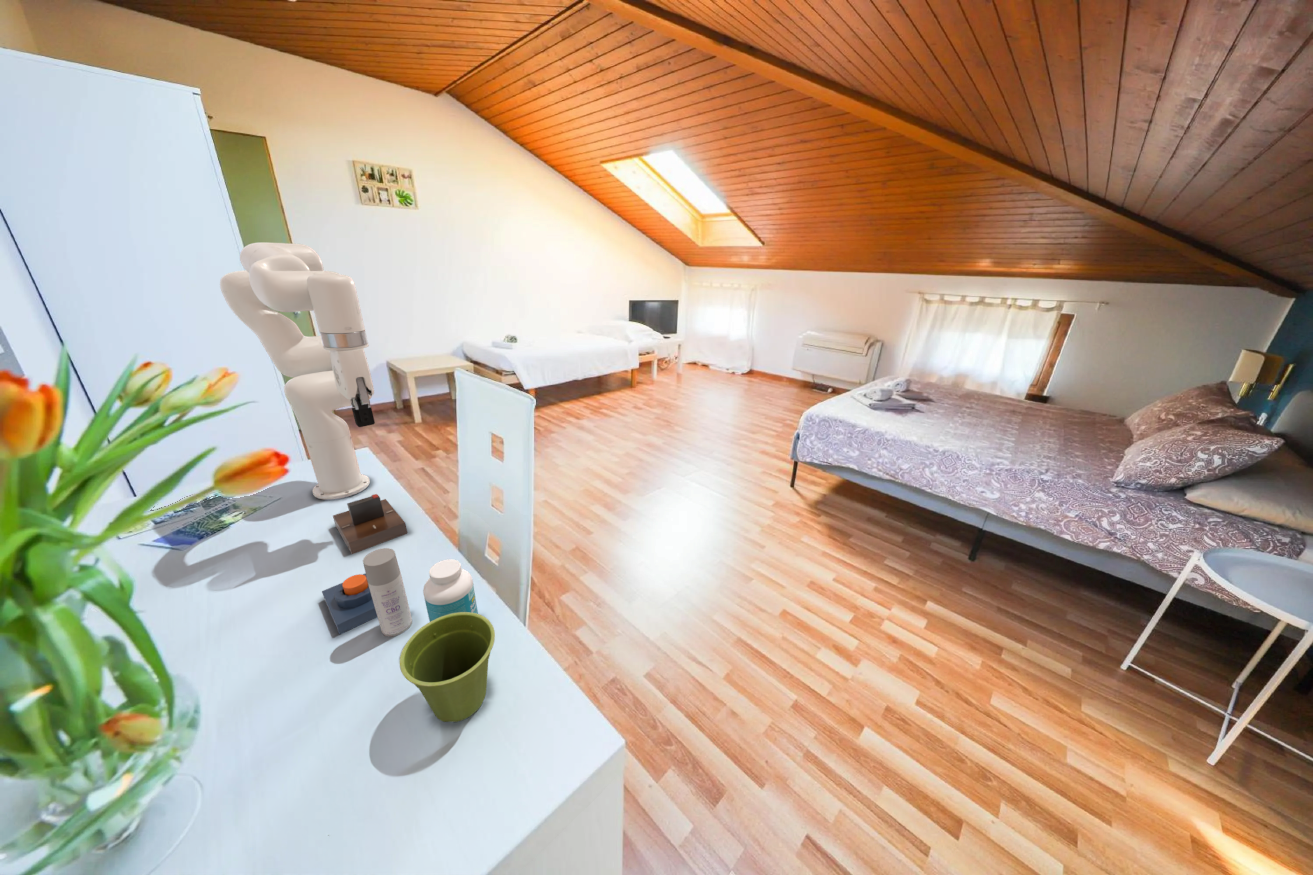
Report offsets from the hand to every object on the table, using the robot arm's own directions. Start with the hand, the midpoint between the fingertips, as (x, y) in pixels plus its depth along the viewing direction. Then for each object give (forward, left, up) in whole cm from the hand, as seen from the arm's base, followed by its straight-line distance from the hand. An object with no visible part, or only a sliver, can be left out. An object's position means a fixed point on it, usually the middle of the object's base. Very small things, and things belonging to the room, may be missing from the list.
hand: (365, 424), depth 93 cm
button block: (+25, -12, -25) cm, 37 cm away
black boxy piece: (+1, -4, -22) cm, 22 cm away
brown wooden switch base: (+1, -4, -25) cm, 25 cm away
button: (+25, -12, -22) cm, 35 cm away
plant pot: (+56, -7, -25) cm, 62 cm away
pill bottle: (+43, -2, -25) cm, 50 cm away
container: (+35, -9, -25) cm, 44 cm away
